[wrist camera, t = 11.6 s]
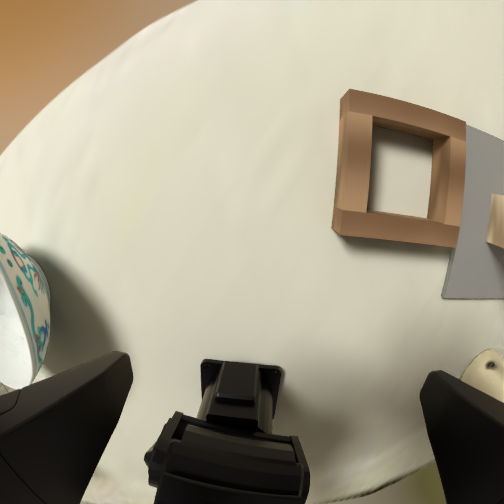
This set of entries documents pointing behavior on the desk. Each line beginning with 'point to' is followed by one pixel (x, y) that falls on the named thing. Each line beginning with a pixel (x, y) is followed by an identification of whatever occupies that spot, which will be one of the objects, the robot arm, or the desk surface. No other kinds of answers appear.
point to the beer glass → (487, 374)
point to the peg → (496, 221)
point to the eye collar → (359, 160)
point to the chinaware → (22, 316)
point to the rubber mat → (478, 223)
